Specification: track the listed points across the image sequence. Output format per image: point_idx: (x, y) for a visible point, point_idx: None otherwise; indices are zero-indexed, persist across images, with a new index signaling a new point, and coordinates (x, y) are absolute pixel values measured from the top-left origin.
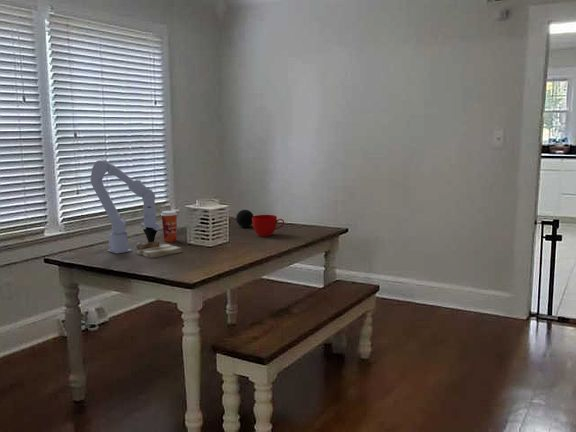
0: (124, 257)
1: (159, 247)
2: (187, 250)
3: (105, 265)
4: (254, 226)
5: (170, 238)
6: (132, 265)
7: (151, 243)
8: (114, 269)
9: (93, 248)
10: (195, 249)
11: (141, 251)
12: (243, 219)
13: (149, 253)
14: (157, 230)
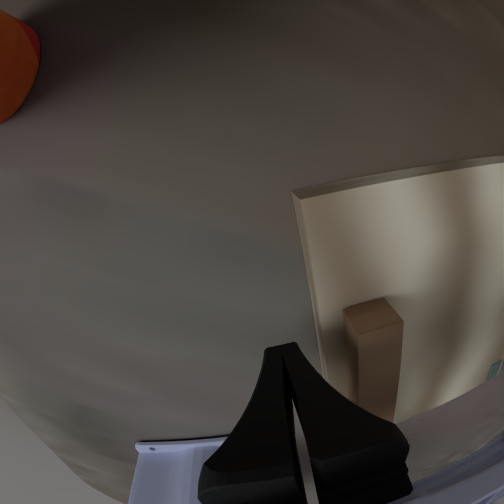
0: None
1: (426, 308)
2: (488, 88)
3: (423, 477)
4: None
5: (19, 68)
6: (495, 416)
7: (396, 387)
8: (478, 449)
9: (99, 485)
10: (481, 29)
11: (408, 415)
12: None
13: (485, 379)
14: (395, 426)
